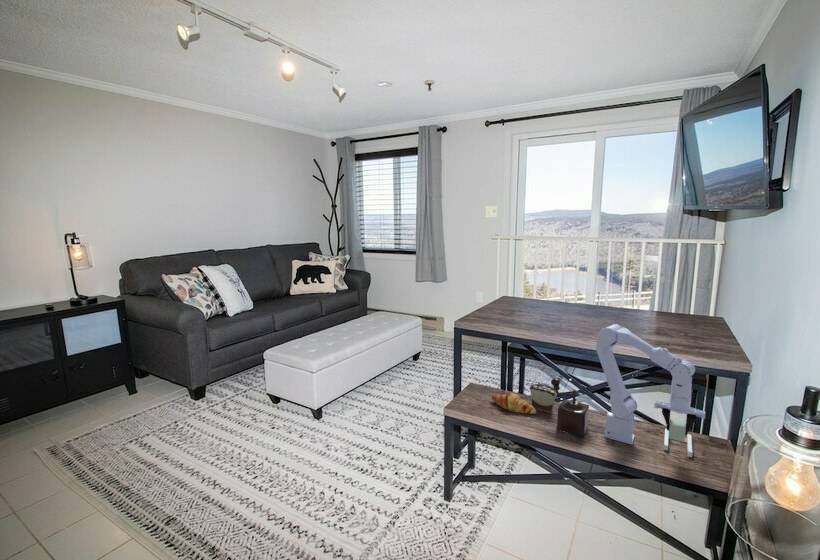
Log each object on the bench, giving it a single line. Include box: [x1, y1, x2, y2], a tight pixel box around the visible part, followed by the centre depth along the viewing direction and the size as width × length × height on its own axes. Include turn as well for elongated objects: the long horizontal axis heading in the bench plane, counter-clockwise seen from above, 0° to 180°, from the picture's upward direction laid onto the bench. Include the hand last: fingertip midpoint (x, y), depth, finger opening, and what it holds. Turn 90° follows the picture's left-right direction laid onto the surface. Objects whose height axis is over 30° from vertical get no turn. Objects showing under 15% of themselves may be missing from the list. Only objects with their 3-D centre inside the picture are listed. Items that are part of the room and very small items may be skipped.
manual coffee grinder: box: [550, 378, 590, 438], centre depth 158 cm, size 16×11×18 cm
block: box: [668, 416, 686, 443], centre depth 136 cm, size 4×7×5 cm, turn 146°
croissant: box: [491, 392, 537, 415], centre depth 175 cm, size 21×10×8 cm, turn 53°
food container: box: [528, 383, 558, 414], centre depth 175 cm, size 12×6×10 cm, turn 48°
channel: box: [663, 428, 693, 458], centre depth 146 cm, size 8×14×2 cm, turn 146°
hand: (676, 431), depth 136 cm, fingers closed on block, 4 cm apart
